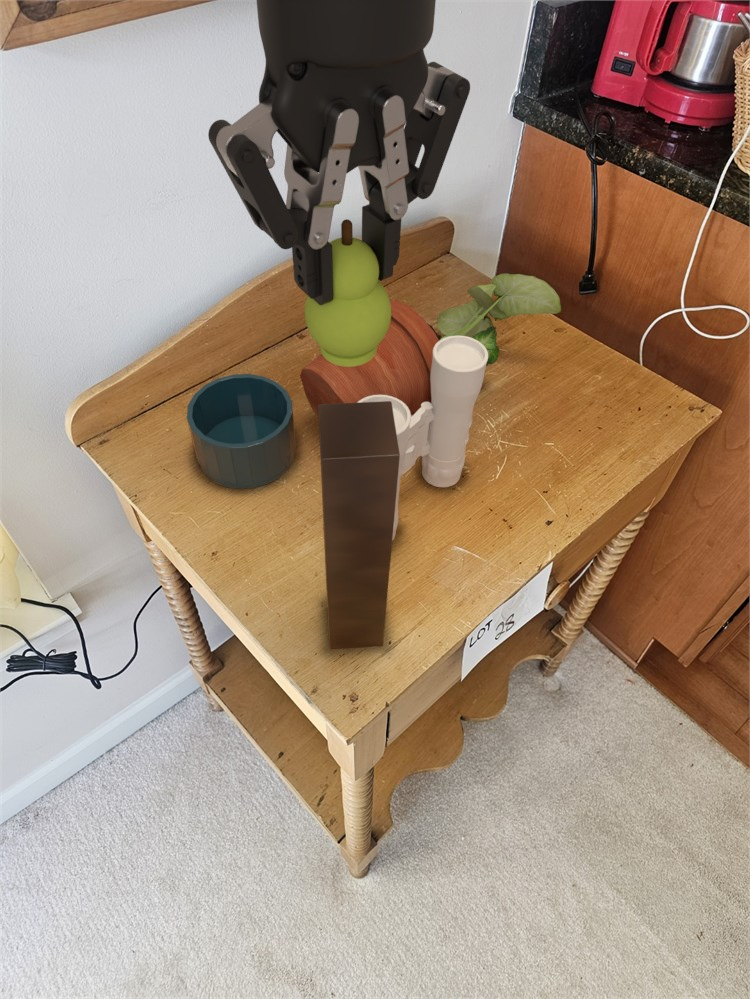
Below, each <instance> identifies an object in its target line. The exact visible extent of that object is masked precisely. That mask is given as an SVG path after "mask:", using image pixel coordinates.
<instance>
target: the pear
mask: <svg viewBox="0 0 750 999" xmlns="http://www.w3.org/2000/svg"><path fill="white" fill-rule="evenodd" d="M340 230H341V234H340V236H341V237H338V238H336V239H333V240H331V241H329V243H331V244H332V259H333V300H332V301H331V302H328V303H326V304H323V305H319V304H318V303H317V302H316V301H315V300H314V299H311V298H310V297H309V296H308V295H306V299H305V304H304V319H305V325H306V327H307V330H308V332H309V334H310V336H311V337H312V339H313V341H314V342H315V343H316V344H317V345H319V350H320V354H322V355H323V357H324V358H325V359H326V360H327V361H329V362H331V363H333V364H335V365H338V366H344V367H353V366H359V365H362V364H365V363H367V362H368V361H370V360H371V359H372V358H373V357H374V356H375V354H376V352H377V345H378V344H379V343H380V342H381V341H382V340H383V338H384V337H385V335H386V333H387V331H388V328H389V325H390V321H391V304H390V300H391V299H390V296H389V294H388V292H387V290H386V288H385V286H384V285H383V284H382V282H381V281H380V280H378V278H379V264H378V260H377V257H376V255H375V253H374V252H373V250H372V249H371V248H370V247H369V246H368V245H367V244H366V243H365V242H363V241H362V239H359V238H357V237H354V236H353V234H354V233H353V222H352V221H351V220H350V219H344V220H342V221H341V225H340Z"/></svg>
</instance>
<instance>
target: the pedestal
mask: <svg viewBox="0 0 750 999" xmlns="http://www.w3.org/2000/svg"><path fill="white" fill-rule="evenodd" d="M318 415H319V418H318V436H319V454H320V455H319V458H320V478H321V479H320V480H321V481H320V482H321V499H322V500H321V503H322V523H323V524H322V525H323V545H324V547H323V548H324V564H325V565H324V569H325V585H326V586H325V589H326V590H325V591H326V609H327V628H328V644H329V645H328V646H329V650H330V651H331V650H332V651H334V650H346V649H347V650H349V649H359V648H360V649H361V648H374V647H383V646H384V636H385V627H386V615H387V604H388V593H389V581H390V570H391V559H392V558H391V557H392V546H393V541H392V538H393V526H394V515H395V504H396V493H397V482H398V470H399V459H400V453H399V447H398V440H397V434H396V427H395V421H394V415H393V408H392V402H391V401H384V402H361V403H338V404H319V405H318Z"/></svg>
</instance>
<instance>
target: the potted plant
mask: <svg viewBox="0 0 750 999" xmlns="http://www.w3.org/2000/svg"><path fill="white" fill-rule="evenodd" d="M467 293H468V294H469V295H470V297H471V298H472V299H473V300H471V301H469V302H466V303H464V304H462V305H458V306H457V305H456V306H453V307H450V308H447V309H444V310H443V311H440V312H439V314H438V316H437V318H436V320H437V322H436V323H437V325H436V326H437V327H436V328H437V329H438V330H439V331H440V332H441V334H442V335H444V336H441V335H440V334H438V333H437V332H436V330H435V329H434V327H433V326H432V325H431V324H429V322H427V321H426V319H424V317H423V316H422V315H421V314H419V313H418V312H417V311H416V310H414V309H413V308H412V307H411V305H408V304H406V303H404V302H401V301H400V300H397V299H389V300H390V304H391V321H390V325H389V328H388V331H387V333H386V335H385V337H384V338H383V340H382V341H381V342H380V343H379V344H378V345H377V352H376V354H375V356H374V357H373V358H372V359H371V360H370V361H368V362H367V363H365V364H362V365H359V366H353V367H344V366H338V365H335V364H333V363H331V362H329V361H327V360H326V359H325V358H324V357H323V355H322V353H320V354H318V356H316V358H314V359H313V360H312V361H311V362H309V363H308V364H307V365H305V366H304V367H303V368H302V369H301V370H300V375H299V377H300V381H301V384H302V387H303V391H304V393H305V396H306V399H307V401H308V403H309V405H310V407H311V409H312V410H313V412H314V414H315V415H316V417H317V419H319V415H318V405H319V404H338V403H357V402H358V401H360V400H361V399H363V398H365V397H368V396H372V395H388V396H392V397H395V398H397V399H399V400H401V401H402V402H403V403H405V404H406V406H407V407H408V408H409V410H410V413H411V415H412V416H413V415H414V414H415V413H416V412H417V411H418V410H419V409H420V408H421V404H422V403H423V402H430V403H431V400H432V399H431V383H430V374H431V366H432V358H433V348H434V346H435V344H436V343H437V342H438V341H440V340H441V339H443V338H446V337H449V336H457V335H458V336H467V337H470V338H473V339H475V340H477V341H479V342H480V343H482V344H483V345H484V346H485V348H486V349H487V352H488V361H487V363H486V367H488V366H489V365H493V364H495V362H497V361H498V359H499V352H500V349H499V346H498V345H497V336H498V332H497V330H496V329H497V327H496V326H495V325H494V323H493V321H492V319H491V317H492V318H493V319H494V322H497V321H498V320H499V321H502V320H507V319H509V318H511V317H515V316H521V315H548V314H555V315H556V314H559V313H561V312H562V305H561V299H560V296H559V295H558V293H557V292H556V290H555V289H554V288H553V287H552V286H551V285H550V284H548V283H547V282H546V281H545V280H543V279H541V278H538V277H536V276H535V275H528V274H526V275H525V274H522V273H515V274H514V273H512V274H511V273H508V272H506V273H500V274H497V275H495V276H493V277H492V278H491V283H488V284H480V285H475V286H472V287H469V289H468V290H467ZM493 294H494V296H495V297H497V298H496V299H495V301H494V298H493ZM490 316H491V317H490Z"/></svg>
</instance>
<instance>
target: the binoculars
mask: <svg viewBox="0 0 750 999" xmlns="http://www.w3.org/2000/svg"><path fill="white" fill-rule="evenodd" d="M487 361H488V352H487V349H486V348H485V346H484V345H483V344H482V343H480V342H479V341H477V340H475V339H473V338H470V337H467V336H458V335H457V336H449V337H446V338H443V339H441V340H440V341H438V342H437V343H436V344H435V346H434V348H433V358H432V366H431V374H430V383H431V399H432V400H431V403H430V402H423V403H422V404H421V408H420V409H419V410H418V411H417V412H416V413H415V414H414V415H413V414H411V413H410V410H409V408H408V407H407V406H406V404H405V403H403V402H402V401H401V400H399V399H397V398H395V397H392V396H388V395H372V396H368V397H365V398H363V399H361V400H360V401H358V402H357V403H361V402H384V401H391V402H392V408H393V415H394V421H395V427H396V434H397V440H398V447H399V453H400V459H399V470H398V482H397V493H396V504H395V515H394V526H393V538H392V542H393V541H394V540H395V539H396V535H397V529H398V526H399V498H400V497H399V496H400V486H401V477H402V476H403V475H405V474H406V473H407V472H408V471H409V470H411V469H412V467H414V466H415V465H416V462H417V460H418V459H419V457H421V474H422V478H423V479H424V481H425V482H426V483H428V484H429V485H432V486H433V487H438V488H449V487H452V486H454V485H456V484H457V483H458V482H459V481H460V479H461V476H462V473H463V472H462V471H463V468H464V466H465V462H466V450H467V444H468V442H469V440H470V428H471V426H472V425H473V412H474V407H475V404H476V401H477V399H478V397H479V394H480V392H481V390H482V387H483V383H484V378H485V372H486V369H487V366H486V363H487Z"/></svg>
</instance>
